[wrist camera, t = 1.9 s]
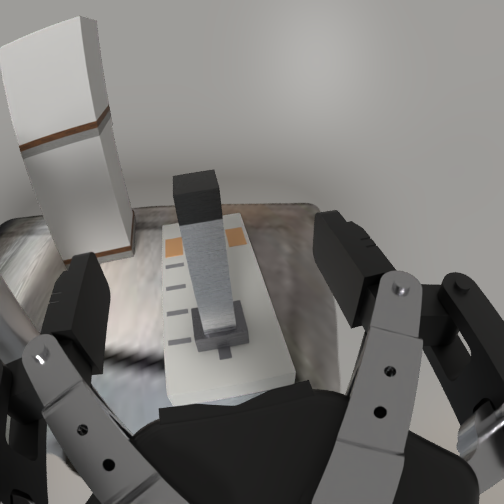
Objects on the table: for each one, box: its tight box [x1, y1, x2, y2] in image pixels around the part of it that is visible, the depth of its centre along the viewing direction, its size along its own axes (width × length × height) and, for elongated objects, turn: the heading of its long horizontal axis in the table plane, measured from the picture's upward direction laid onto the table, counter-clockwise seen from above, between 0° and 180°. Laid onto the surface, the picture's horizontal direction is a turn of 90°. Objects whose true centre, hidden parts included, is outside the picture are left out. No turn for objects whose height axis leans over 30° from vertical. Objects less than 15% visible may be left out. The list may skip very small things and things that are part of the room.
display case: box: [0, 16, 136, 270], centre depth 39 cm, size 11×11×35 cm
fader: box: [173, 170, 249, 352], centre depth 27 cm, size 5×4×16 cm
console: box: [162, 213, 296, 406], centre depth 39 cm, size 12×28×3 cm, turn 12°
